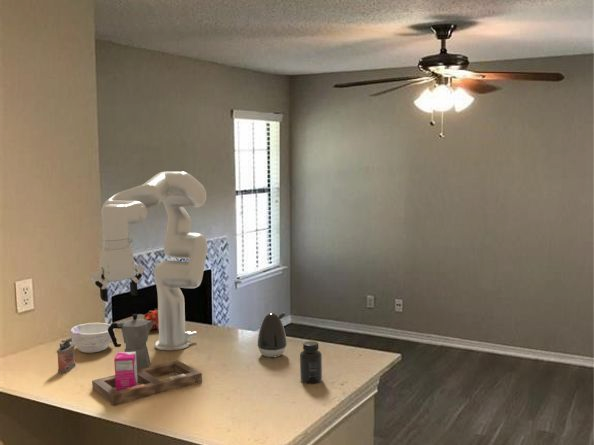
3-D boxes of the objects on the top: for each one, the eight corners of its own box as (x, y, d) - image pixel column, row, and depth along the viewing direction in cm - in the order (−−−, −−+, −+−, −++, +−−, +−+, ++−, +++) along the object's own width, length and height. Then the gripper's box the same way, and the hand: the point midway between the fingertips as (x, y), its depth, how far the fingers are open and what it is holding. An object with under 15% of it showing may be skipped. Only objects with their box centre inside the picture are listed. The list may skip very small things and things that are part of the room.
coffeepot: (154, 359, 225) (153, 308, 223) (158, 368, 217) (157, 315, 214) (108, 365, 220) (106, 313, 218) (110, 374, 211) (108, 320, 209)
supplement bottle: (324, 377, 208) (324, 341, 206) (318, 385, 201) (318, 347, 200) (304, 375, 210) (304, 339, 208) (297, 382, 204) (297, 345, 202)
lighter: (64, 373, 212) (63, 343, 211) (55, 373, 213) (53, 343, 212) (77, 365, 220) (76, 336, 219) (68, 364, 221) (67, 335, 219)
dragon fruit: (169, 328, 267) (146, 340, 258) (156, 314, 270) (133, 325, 261) (175, 315, 263) (152, 326, 254) (162, 301, 266) (138, 311, 257)
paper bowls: (122, 349, 236) (121, 328, 235) (81, 358, 227) (80, 336, 226) (104, 339, 248) (103, 319, 247) (64, 348, 238) (63, 327, 237)
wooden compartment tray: (177, 368, 216) (177, 358, 216) (201, 382, 204) (201, 371, 204) (92, 390, 198) (91, 379, 198) (113, 406, 186) (113, 394, 186)
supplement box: (118, 388, 200) (117, 351, 198) (138, 387, 200) (137, 351, 199) (115, 395, 194) (113, 358, 192) (135, 394, 194) (134, 357, 193)
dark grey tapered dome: (292, 356, 228) (292, 313, 226) (267, 362, 223) (267, 318, 221) (277, 348, 237) (276, 307, 235) (252, 354, 231) (251, 312, 229)
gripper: (136, 238, 210) (139, 290, 213) (84, 246, 199) (88, 300, 202) (147, 242, 205) (150, 295, 208) (94, 249, 194) (98, 305, 196)
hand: (119, 297), depth 205 cm, fingers open, 9 cm apart
